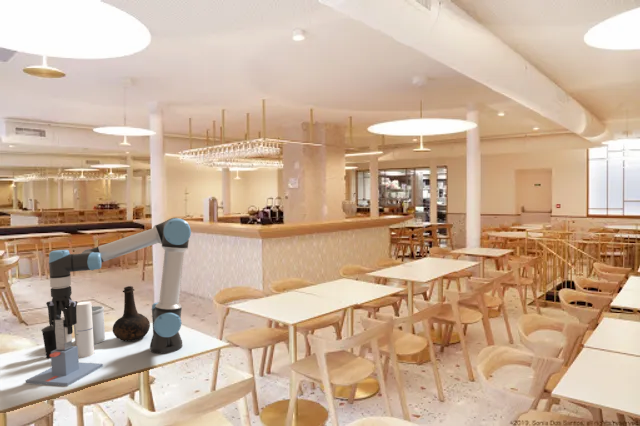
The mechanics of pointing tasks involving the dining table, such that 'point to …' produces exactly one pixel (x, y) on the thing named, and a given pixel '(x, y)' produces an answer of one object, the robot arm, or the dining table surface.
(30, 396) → the dining table surface
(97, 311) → the utensil holder
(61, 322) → the column
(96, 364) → the stand
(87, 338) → the cylindrical container
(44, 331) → the drinking cup
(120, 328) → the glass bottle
